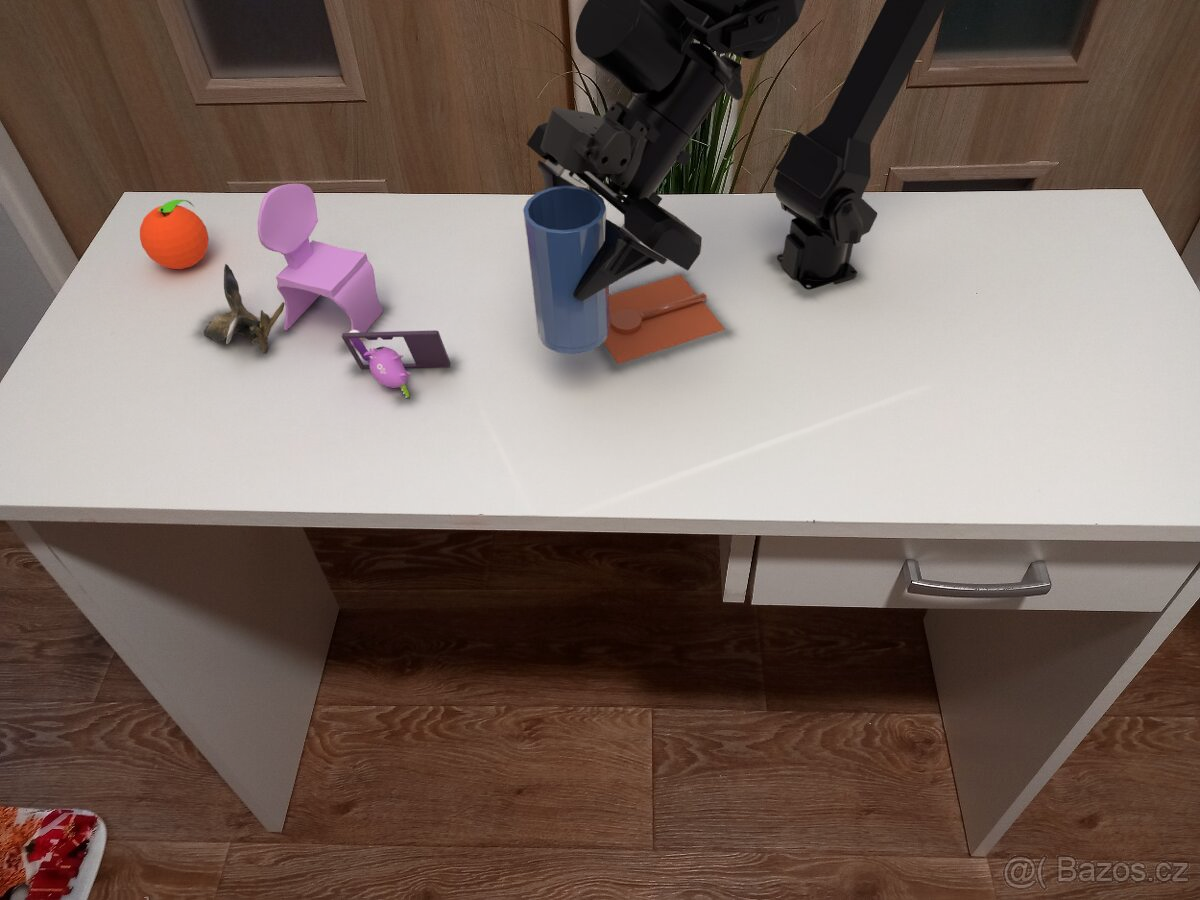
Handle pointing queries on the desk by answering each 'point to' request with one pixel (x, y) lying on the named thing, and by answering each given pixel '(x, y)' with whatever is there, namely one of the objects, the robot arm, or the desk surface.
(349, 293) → the toy chair
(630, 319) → the terracotta spoon
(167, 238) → the clementine
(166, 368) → the desk surface
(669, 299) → the terracotta mat
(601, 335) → the blue tumbler
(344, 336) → the pink creature with frame
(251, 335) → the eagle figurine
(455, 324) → the desk surface
